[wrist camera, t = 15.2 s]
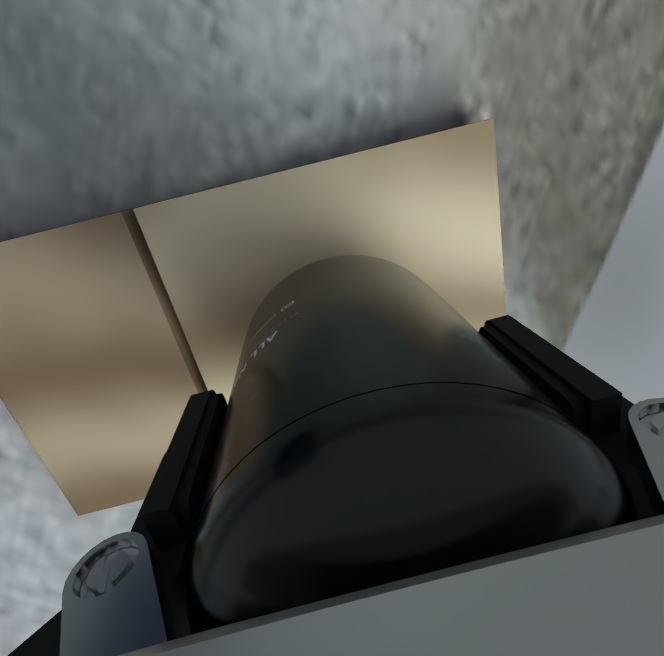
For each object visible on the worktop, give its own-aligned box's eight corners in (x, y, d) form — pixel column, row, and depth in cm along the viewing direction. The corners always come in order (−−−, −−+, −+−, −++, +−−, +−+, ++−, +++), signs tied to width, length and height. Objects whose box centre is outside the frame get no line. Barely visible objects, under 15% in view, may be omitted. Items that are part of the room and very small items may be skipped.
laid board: (236, 457, 19) (233, 476, 18) (90, 494, 19) (78, 515, 18) (133, 208, 14) (121, 212, 13) (-59, 256, 14) (-88, 264, 13)
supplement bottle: (219, 272, 12) (-439, 1305, 1) (438, 232, 12) (1655, 784, 1) (269, 450, 15) (213, 1278, 4) (448, 415, 15) (886, 1102, 4)
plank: (499, 396, 18) (512, 411, 17) (246, 455, 19) (242, 474, 18) (478, 121, 14) (493, 118, 13) (146, 205, 14) (132, 208, 13)
